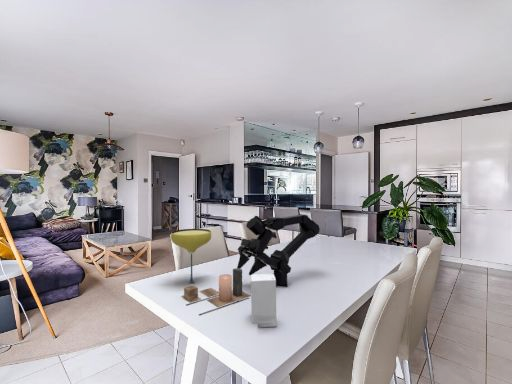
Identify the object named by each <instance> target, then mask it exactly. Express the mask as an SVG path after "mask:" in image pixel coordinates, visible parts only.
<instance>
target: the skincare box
mask: <svg viewBox="0 0 512 384" xmlns="http://www.w3.org/2000/svg"><path fill="white" fill-rule="evenodd" d="M250 295H251V296H250V301H251V302H250V303H251V304H250V305H251V324H257V328H271V327H272V328H275V327H277V286H276V279H275V276H274V274H273V273H263V274H260V273H258V274H255V273H254V274H252V275H251V276H250Z"/></svg>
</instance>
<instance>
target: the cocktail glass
mask: <svg viewBox="0 0 512 384" xmlns="http://www.w3.org/2000/svg"><path fill="white" fill-rule="evenodd" d="M211 239H212V230H210V229H204V228H186V229H184V228H183V229H179V230H177V229H176V230H173V231H171V234H170V240H171V242H172V243H173V244H174V245H176V246H178V247H180V248H183V249H184V250H186V251H187V252H188V253H189V254H190V277H189V278H190V279H189V281H188V284H191V285H194V284H195V281H194V276H193V254H194V253H195V252H196V251H197V249H199V248H201V247H203V246H205V245H206V244H208V243H209V242H210V241H211Z"/></svg>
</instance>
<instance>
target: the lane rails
mask: <svg viewBox="0 0 512 384" xmlns="http://www.w3.org/2000/svg"><path fill="white" fill-rule="evenodd" d="M232 292H233V289H232ZM218 296H219V294H217V295H214V296H211V297H206V298H203V299H201V300H198V301H194V302H191V303H189V302H188V303H187V304H185V306H186V307H188V306H190V305H193V304H194V305H195V304H197V303H199V302H203V301H204V302H205V301H207V300H209V299H212V298H215V297H218ZM249 299H250V297H246V298H244V299H241V300H238V301H235V302H232V303H229V304H226V305H223V306H220V307H216V308H213V309H211V310H208V311H205V312H201V313H199V314H198V316H200V317H201V316H202V315H207V314H209V313H211V312H214V311H218V310H220V309H223V308H225V307H229V306H232V305H235V304H238V303H240V302H245V301H246V300H249Z"/></svg>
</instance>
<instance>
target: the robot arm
mask: <svg viewBox="0 0 512 384" xmlns="http://www.w3.org/2000/svg"><path fill="white" fill-rule="evenodd" d="M297 224H298V226H299V227H300V231H299V233H298V234H297V235H296V236H295V237H294V238H293V239H291V241H290V242H289V243H288V244H287V245H286V246H285V247H284V248H283V249H281V250H278V249H275V250H274V251H273V252H272V253H271V254H270V256H269V255H268V254H267V253H265V250H268V249H269V246H268V245H269V244H270V242H271V241H272V239H277V238H278V237H277V234H276V233H277V232H276V231H280V230H283V229H285V227H287V226H293V225H297ZM246 228H247V229H248V230H249V231H250V232H251V233H252V234H254V235H255V236H257V237H256V238H251V239H247V238H243V237H242V240H241V242H240V245H239V246H238V248H237V252H238V254H239V259H238V264H237V267H236V268H239V269H242V268H243V267H244V266H245V265H246V263H248V262H249V261H250V259H251V257H254V261H253V264H252V266H251V268H250V269H249V272H248V275H249V276H250V277H251V275H252V274H255V273H257V272H258V271H259V270H262V269H263V268H265V267H268V266H269V267H270V270H271V271H273V273H272V274H274V276H275V279H276V287H282V288H284V287H285V288H286V287H289V285H288V274H290V273H291V271H292V267H291V266H290V265H289V263H290V259H291V258H292V256H293V255H294V254H295V253H297V251H298V250H299V249H300V248H301V247H302V246H304V244H305V243H306V242H307V240H309V239H313V238H314V237H316V236H318V235H319V233H320V225H319V224H318V223H316V222H315V221H314V220H312V219H311V218H310V217H309V216H308V215H306V214H301V213H300V214H295V215H290V216H283V217H280V216H278V217H277V216H268V217H266V218H265V219H264V220H262V219H261V218H260V217H259V216H258V215H254V216H253V217H251V218H249V220H248V221H247V222H246Z"/></svg>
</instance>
